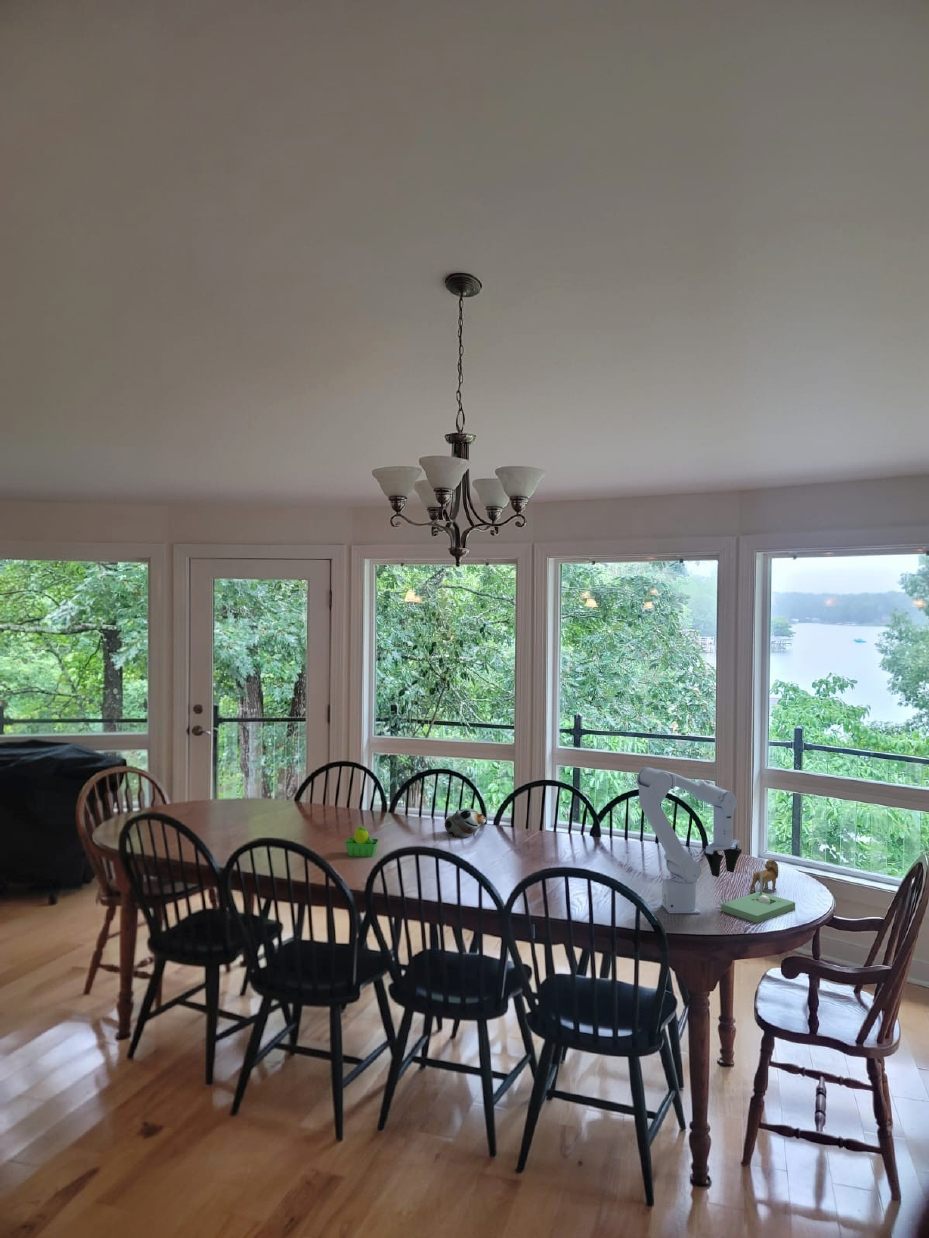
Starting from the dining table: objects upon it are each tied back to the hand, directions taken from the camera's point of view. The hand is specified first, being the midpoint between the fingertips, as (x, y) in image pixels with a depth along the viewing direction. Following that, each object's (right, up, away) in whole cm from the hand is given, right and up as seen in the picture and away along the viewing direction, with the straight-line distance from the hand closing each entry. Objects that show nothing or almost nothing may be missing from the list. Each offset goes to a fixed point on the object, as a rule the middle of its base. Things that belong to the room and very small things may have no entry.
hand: (722, 873), depth 237 cm
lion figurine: (+18, -10, +14) cm, 25 cm away
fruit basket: (-117, -9, +48) cm, 127 cm away
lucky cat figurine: (-79, -10, +79) cm, 112 cm away
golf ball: (+12, -8, -2) cm, 14 cm away
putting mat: (+9, -9, -4) cm, 14 cm away
